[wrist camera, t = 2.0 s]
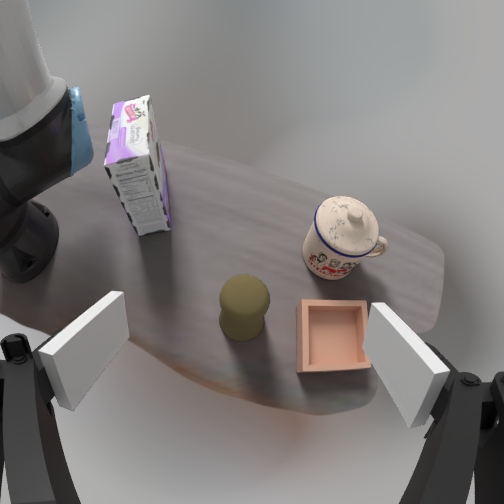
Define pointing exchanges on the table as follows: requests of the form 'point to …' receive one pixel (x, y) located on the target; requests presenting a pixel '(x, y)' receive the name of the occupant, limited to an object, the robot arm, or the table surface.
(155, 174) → the candy box
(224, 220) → the table surface
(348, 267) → the teacup with lid
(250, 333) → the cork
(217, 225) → the table surface
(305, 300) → the tray
